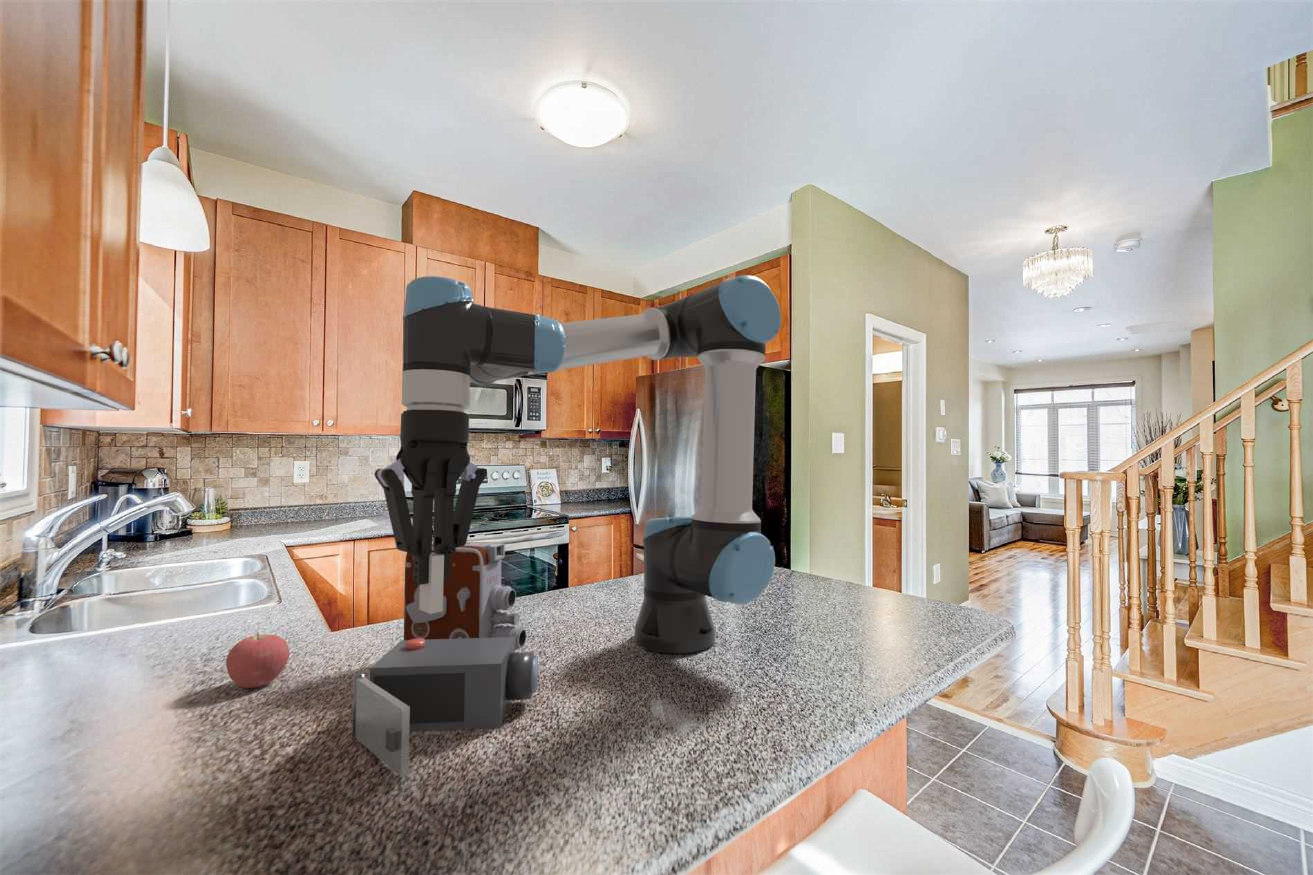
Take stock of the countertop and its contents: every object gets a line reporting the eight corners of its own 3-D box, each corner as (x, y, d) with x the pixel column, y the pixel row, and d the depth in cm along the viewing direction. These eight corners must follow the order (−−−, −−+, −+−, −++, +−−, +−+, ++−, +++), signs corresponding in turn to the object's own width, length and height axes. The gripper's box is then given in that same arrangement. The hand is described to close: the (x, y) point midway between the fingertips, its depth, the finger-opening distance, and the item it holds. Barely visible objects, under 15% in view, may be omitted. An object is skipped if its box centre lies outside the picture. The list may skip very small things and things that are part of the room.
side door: (344, 736, 64) (345, 676, 64) (361, 730, 65) (362, 671, 65) (394, 780, 55) (395, 710, 55) (412, 771, 57) (413, 703, 57)
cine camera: (506, 679, 81) (508, 549, 82) (395, 669, 85) (398, 544, 86) (532, 657, 90) (533, 540, 91) (431, 649, 94) (432, 536, 95)
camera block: (539, 691, 77) (540, 630, 77) (529, 726, 67) (529, 656, 67) (400, 697, 75) (401, 634, 76) (368, 733, 65) (369, 661, 66)
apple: (213, 691, 77) (215, 636, 77) (265, 672, 84) (267, 621, 84) (247, 699, 75) (249, 642, 75) (298, 679, 81) (300, 626, 82)
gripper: (468, 415, 70) (464, 594, 69) (364, 407, 60) (358, 616, 59) (501, 412, 66) (497, 604, 65) (394, 403, 56) (387, 630, 55)
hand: (430, 610), depth 62 cm, fingers closed
